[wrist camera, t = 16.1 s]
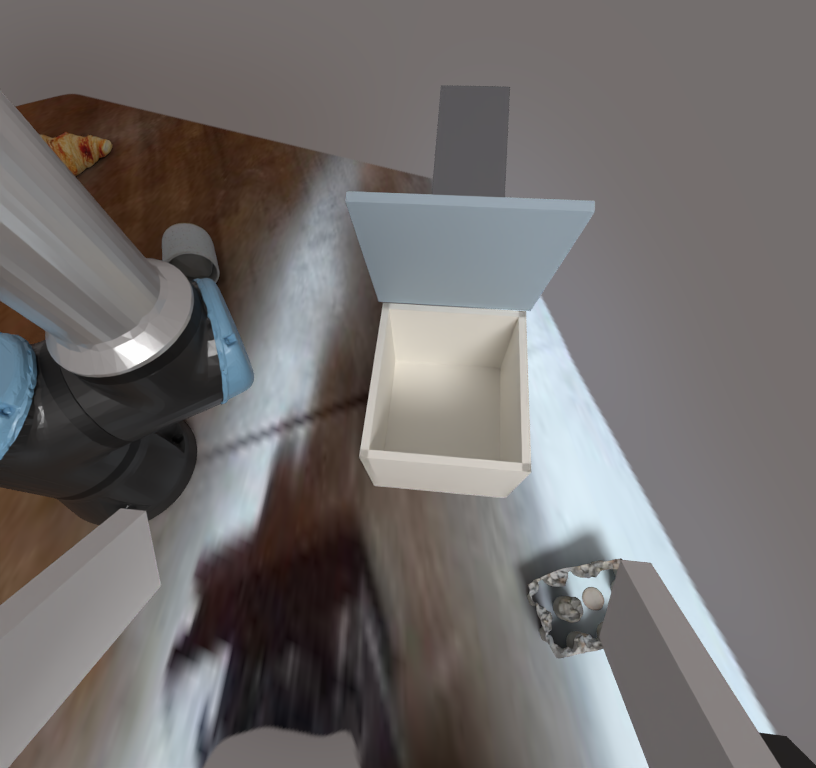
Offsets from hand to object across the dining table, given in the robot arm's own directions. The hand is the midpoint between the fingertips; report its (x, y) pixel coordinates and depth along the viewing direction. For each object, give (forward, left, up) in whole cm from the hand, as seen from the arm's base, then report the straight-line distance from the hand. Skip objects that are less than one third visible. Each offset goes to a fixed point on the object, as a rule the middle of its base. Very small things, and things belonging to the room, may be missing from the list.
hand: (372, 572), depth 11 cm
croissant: (-88, +43, -38) cm, 105 cm away
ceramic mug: (-49, +29, -38) cm, 68 cm away
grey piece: (+18, +4, -38) cm, 42 cm away
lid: (-4, +25, -16) cm, 30 cm away
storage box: (-2, +19, -38) cm, 42 cm away
